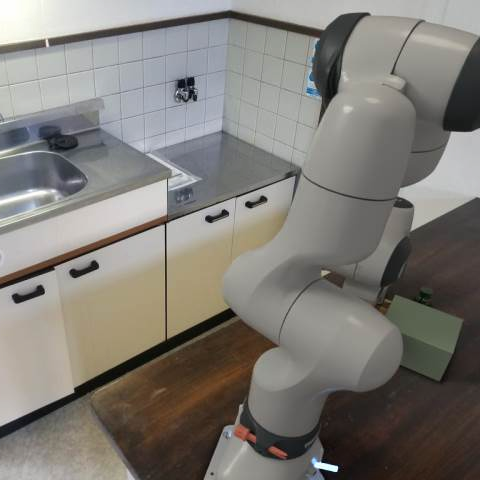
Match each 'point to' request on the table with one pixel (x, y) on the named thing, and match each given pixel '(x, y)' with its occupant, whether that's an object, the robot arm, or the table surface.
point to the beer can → (424, 295)
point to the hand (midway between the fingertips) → (356, 319)
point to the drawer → (385, 304)
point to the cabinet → (424, 336)
